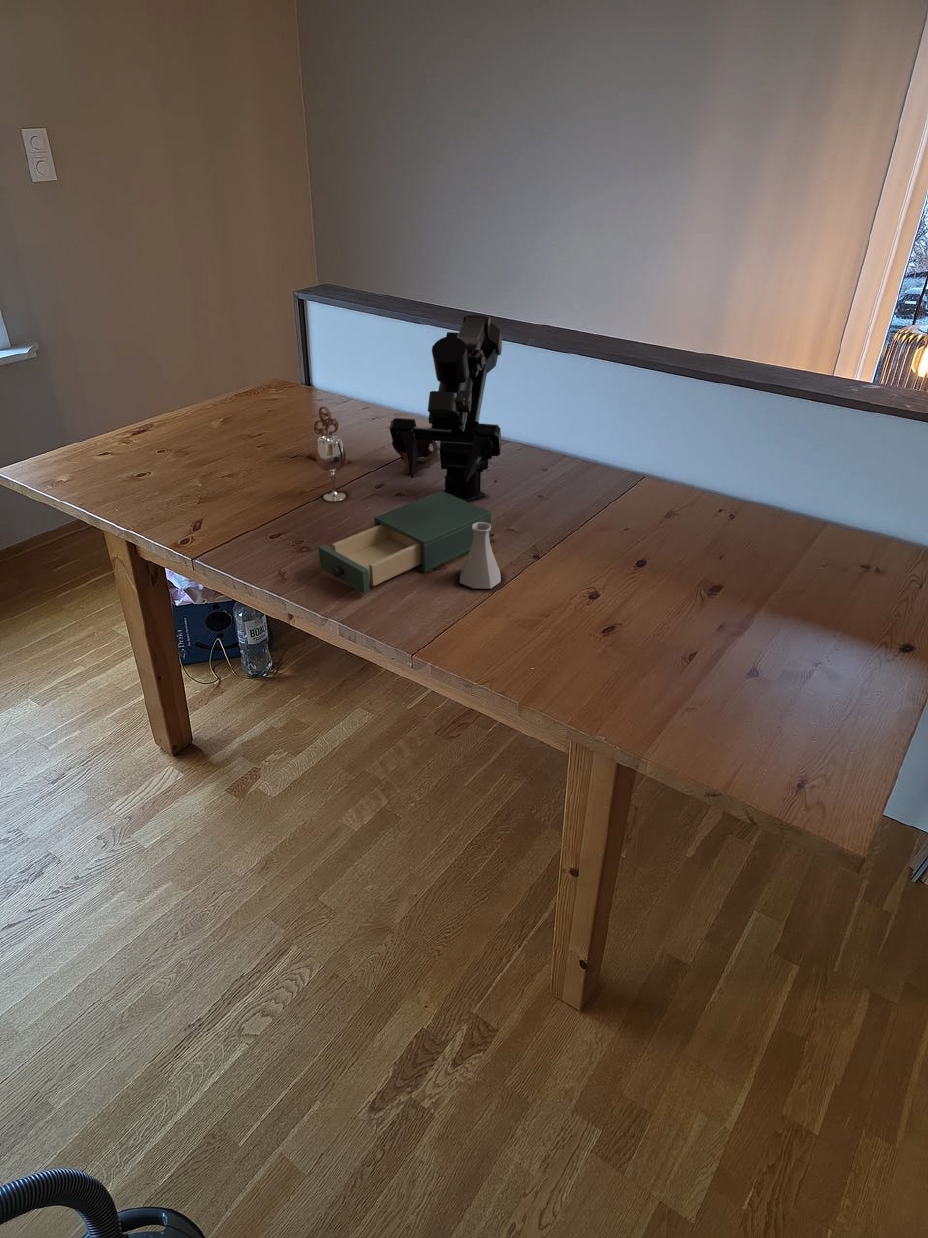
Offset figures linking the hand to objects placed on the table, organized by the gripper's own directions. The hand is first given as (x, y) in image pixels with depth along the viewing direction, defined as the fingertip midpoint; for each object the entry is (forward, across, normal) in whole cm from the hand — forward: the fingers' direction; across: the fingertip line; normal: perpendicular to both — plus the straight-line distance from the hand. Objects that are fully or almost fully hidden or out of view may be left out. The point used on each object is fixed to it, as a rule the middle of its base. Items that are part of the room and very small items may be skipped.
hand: (438, 478), depth 134 cm
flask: (+14, +8, +8) cm, 18 cm away
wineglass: (-8, -26, +23) cm, 36 cm away
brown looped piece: (-24, -32, +34) cm, 52 cm away
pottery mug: (-24, -13, +34) cm, 43 cm away
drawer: (+14, -10, +7) cm, 18 cm away
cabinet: (+5, -2, +14) cm, 15 cm away
